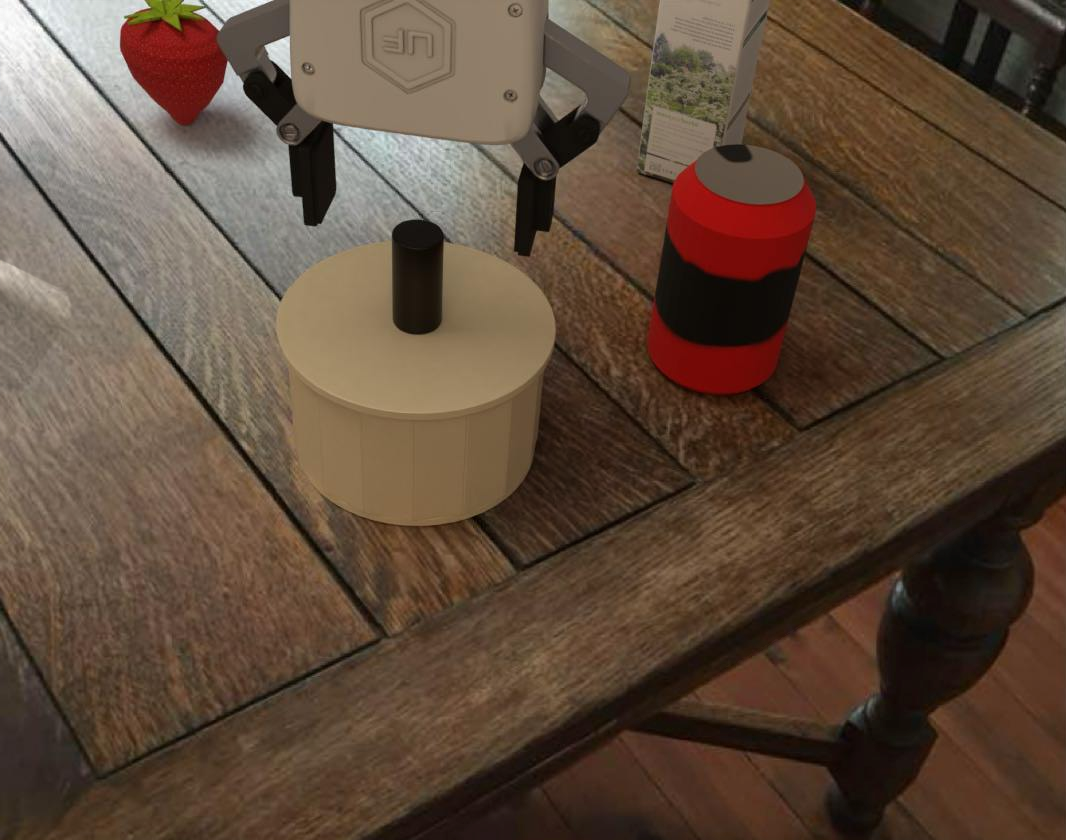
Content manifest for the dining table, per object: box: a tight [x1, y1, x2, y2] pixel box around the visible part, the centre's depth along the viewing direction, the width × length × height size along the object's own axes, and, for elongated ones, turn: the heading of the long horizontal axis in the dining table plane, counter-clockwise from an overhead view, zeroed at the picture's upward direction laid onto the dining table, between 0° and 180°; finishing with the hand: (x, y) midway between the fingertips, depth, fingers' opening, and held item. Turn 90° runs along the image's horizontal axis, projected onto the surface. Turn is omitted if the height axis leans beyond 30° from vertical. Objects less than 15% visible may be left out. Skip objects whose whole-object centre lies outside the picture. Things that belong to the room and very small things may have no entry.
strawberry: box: [119, 0, 229, 126], centre depth 88 cm, size 6×8×10 cm
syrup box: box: [636, 0, 771, 184], centre depth 87 cm, size 6×6×14 cm
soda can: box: [646, 144, 817, 396], centre depth 74 cm, size 8×8×12 cm
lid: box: [275, 218, 557, 421], centre depth 65 cm, size 14×14×6 cm
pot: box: [287, 365, 545, 527], centre depth 69 cm, size 13×13×8 cm
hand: (423, 224), depth 62 cm, fingers open, 9 cm apart
